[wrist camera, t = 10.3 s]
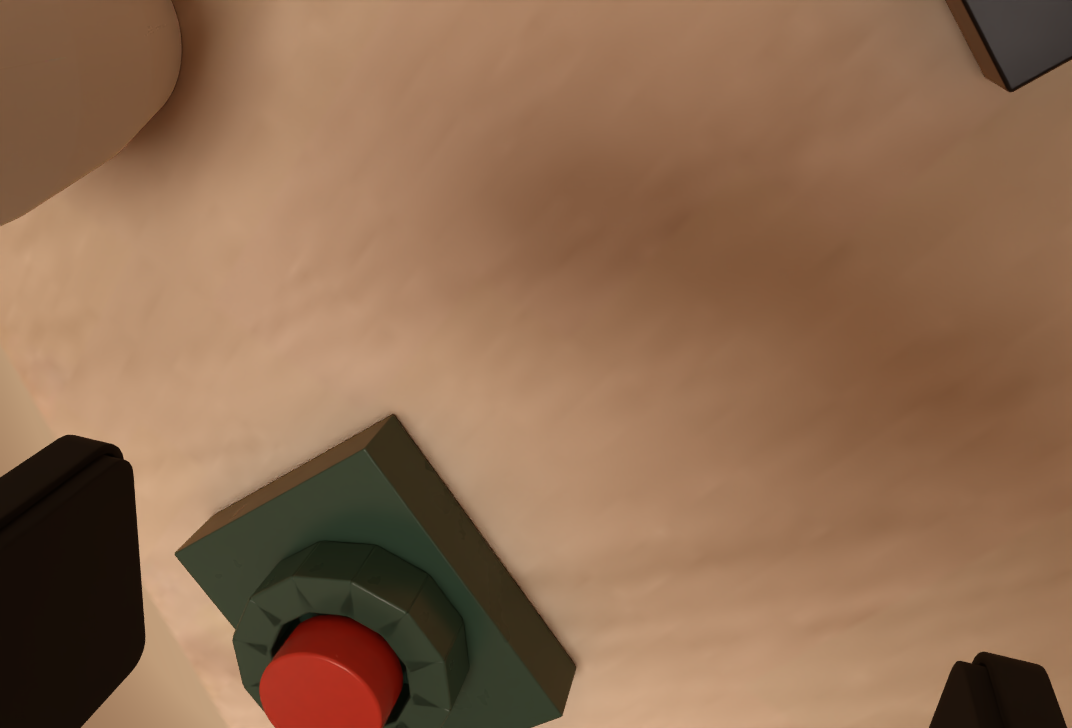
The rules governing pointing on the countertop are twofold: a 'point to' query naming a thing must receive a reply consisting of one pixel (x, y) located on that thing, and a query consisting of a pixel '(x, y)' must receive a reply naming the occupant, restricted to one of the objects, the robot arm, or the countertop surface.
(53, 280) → the countertop surface
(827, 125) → the countertop surface
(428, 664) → the button housing
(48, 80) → the cup
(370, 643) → the button
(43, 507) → the robot arm
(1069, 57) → the panel
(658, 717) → the countertop surface
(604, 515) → the countertop surface
